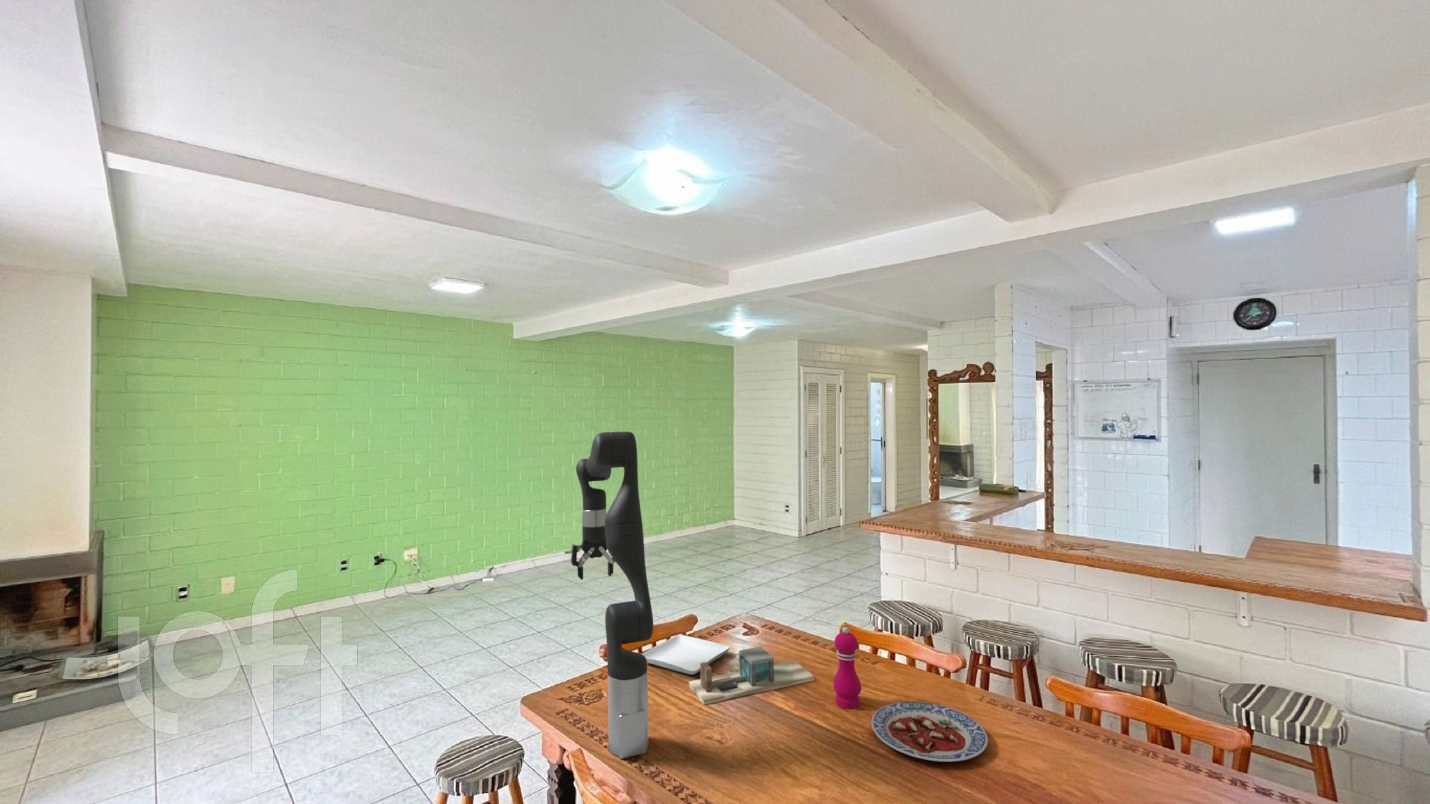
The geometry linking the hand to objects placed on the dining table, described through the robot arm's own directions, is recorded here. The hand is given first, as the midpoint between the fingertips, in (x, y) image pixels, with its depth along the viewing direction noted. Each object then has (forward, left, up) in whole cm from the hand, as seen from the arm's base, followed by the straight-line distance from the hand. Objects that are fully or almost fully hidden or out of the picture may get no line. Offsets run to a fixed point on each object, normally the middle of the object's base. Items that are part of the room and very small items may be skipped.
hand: (595, 577), depth 178 cm
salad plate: (-3, -27, -29) cm, 40 cm away
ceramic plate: (-68, -65, -29) cm, 99 cm away
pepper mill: (-47, -57, -29) cm, 80 cm away
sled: (-26, -34, -27) cm, 51 cm away
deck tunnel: (-26, -40, -28) cm, 56 cm away
